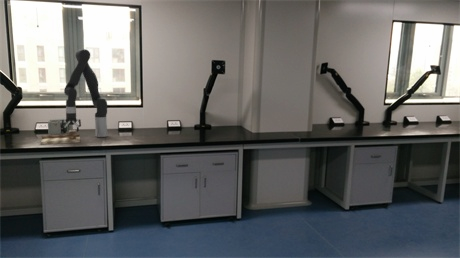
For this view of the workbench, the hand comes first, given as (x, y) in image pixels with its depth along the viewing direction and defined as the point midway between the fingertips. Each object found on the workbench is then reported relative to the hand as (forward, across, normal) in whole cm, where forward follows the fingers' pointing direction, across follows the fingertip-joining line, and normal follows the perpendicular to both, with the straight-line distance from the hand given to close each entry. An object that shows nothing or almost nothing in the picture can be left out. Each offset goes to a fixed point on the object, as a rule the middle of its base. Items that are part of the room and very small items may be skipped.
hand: (71, 132), depth 295 cm
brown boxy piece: (+5, -1, +2) cm, 5 cm away
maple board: (+7, +8, +1) cm, 11 cm away
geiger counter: (+7, +6, -31) cm, 32 cm away
